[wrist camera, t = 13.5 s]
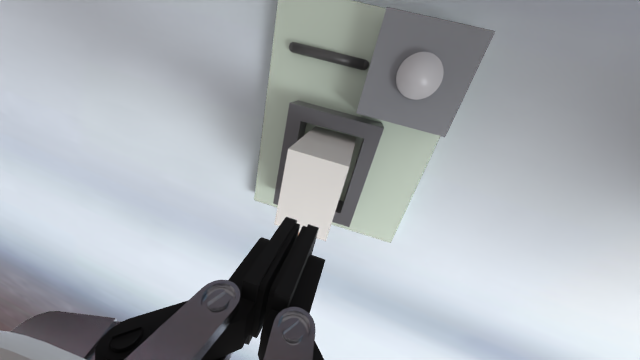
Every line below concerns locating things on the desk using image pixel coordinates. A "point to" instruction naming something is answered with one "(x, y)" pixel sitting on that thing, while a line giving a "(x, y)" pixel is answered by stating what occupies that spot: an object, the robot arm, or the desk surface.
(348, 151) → the plug
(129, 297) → the desk surface
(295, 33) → the board
